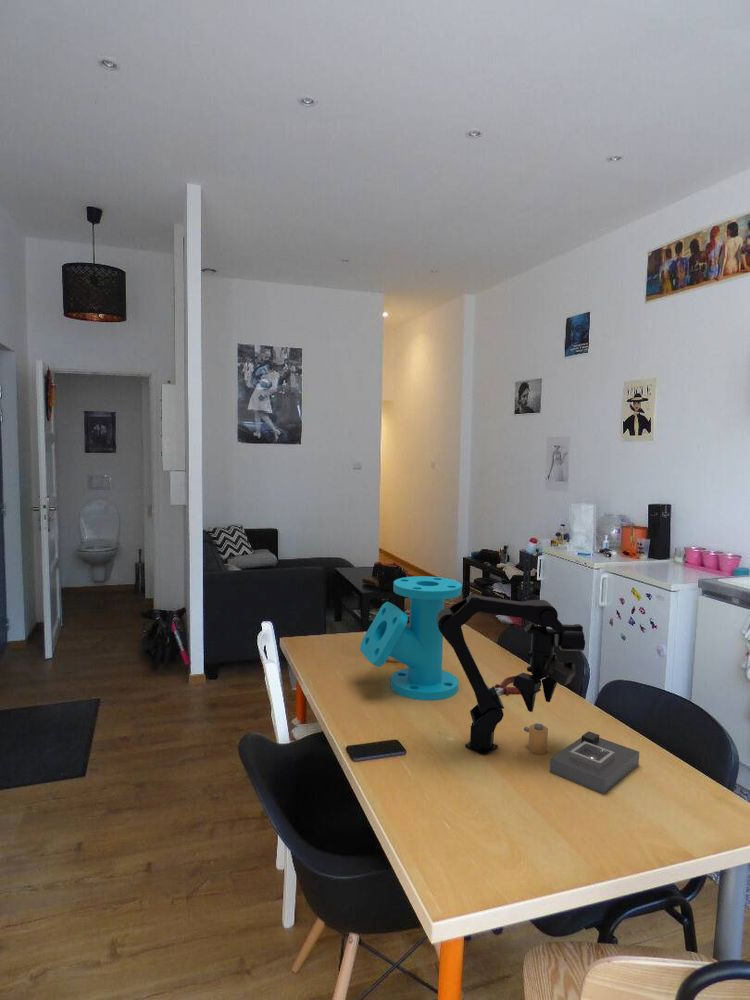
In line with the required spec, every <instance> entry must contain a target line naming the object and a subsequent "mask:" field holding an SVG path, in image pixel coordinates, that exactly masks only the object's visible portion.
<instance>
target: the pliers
mask: <svg viewBox="0 0 750 1000" xmlns="http://www.w3.org/2000/svg"><path fill="white" fill-rule="evenodd" d="M515 676H516V675H512V676H508V677H506V678H505V679H503V680H502V682H501V683H500V684H495V685H494V687H495V689H496V692H497V694H498V696H499V697H500V696H501V695H505V696H506V697H509V695H521V693H520V691H519V690H518V689H517V688H516V687H515V686H509V684H513V678H514V677H515Z"/></svg>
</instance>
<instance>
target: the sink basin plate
mask: <svg viewBox="0 0 750 1000" xmlns="http://www.w3.org/2000/svg"><path fill="white" fill-rule="evenodd" d="M639 763H640V751H638V750H635V749H632V748H630V747H627V746H624V745H622V744H619V743H616V742H613V741H610V740H609V739H604V738H602V737H600V734H598V733H595V732H592V731H587V732H585V733H584V734H583V735H581V737H580V738H578V739H577V740H575V741H574V742H572V743H571V744H569V745H568V746H566V747H565V748H563V749H562V750H560V751H559V752H557V753H556V754H555V755H553V756H551V757H550V758H549V773H551V774H554V775H557V776H558V777H561V778H564V779H566V780H568V781H570V782H573V783H575V784H578V785H580V786H582V787H585V788H587V789H590V790H592V791H594V792H597V793H599V794H602V795H606V794H607V793H608V792H609V791H610V790H611V789H613V787H615V786H616V785H617V784H619V782H621V781H622V780H623V779H624V778H625V777H627V776H628V775H629V774H630V773H631V772H632V771H634V770H635V769H636V768H637V767H638V766H639Z"/></svg>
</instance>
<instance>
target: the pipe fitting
mask: <svg viewBox="0 0 750 1000" xmlns="http://www.w3.org/2000/svg"><path fill="white" fill-rule="evenodd" d="M392 592H394V593H395V594H396V595H398V596H402V597H405V598H409V616H408V614H407V613H405V612H404V611H403V610H402V609H401V608H400V607H398V606H396V605H395V604H394V603H391V602H389V601H385V602H384V603H383V604H382V605H381V607H380V608H379V610H378V611H377V613H376V616H375V617H374V618H373V621H372V622H371V624H370V625H369V627H368V629H367V631H366V633H365V635H364V636H363V638H362V640H361V642H360V646H359V649H360V650H359V651H360V652H361V653H362V655H363V656H364V657H365V658H366V660H368V661H369V663H370V664H372V665H374V666H375V667H377V668H380V667H382V666H384V665H385V664H386V662H387V660H388V659H389V657H390V658H392V659H394V660H396V661H397V662H399V663H401V664H403V665H405V666H407V668H403V669H399V670H397V671H395V672H394V673H392V675H391V677H390V688H391V690H392V691H393V692H394V693H396V694H397V695H399V696H401V697H405V698H408V699H410V700H418V701H441V700H445V699H449V698H451V697H454V696H455V695H457V693H458V692H459V679H458V677H457V676H456V675H454V674H453V673H450V672H449V671H446V670H443V651H444V650H443V647H444V646H443V644H444V636H443V635H442V634H441V632H440V631H439V628H438V624H437V620H436V617H437V614H438V613H439V612H440V611H441V610H442V609H445V600H450V599H454V598H458V597H460V596H461V595H462V592H463V584H462V583H461V582H459V581H457V580H455V579H450V578H446V577H439V576H427V575H426V576H425V575H421V576H420V575H419V576H418V575H417V576H406V577H400V578H397V579H395V580H394V581H393V591H392ZM408 620H409V625H408V626H407V623H408Z"/></svg>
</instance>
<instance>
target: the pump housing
mask: <svg viewBox="0 0 750 1000" xmlns="http://www.w3.org/2000/svg"><path fill="white" fill-rule="evenodd" d="M523 730H524V732H526V733H528V747H527V750H528V751H529V752H530V753H532V754H534V755H535V754H536V755H545V754H547V753H548V738H549V736H548V735H549V729H548V727H547V726H545V725H543V724H542V723H538V722H537V723H534V724H530V725H529V727H528V726H524V727H523Z"/></svg>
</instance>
